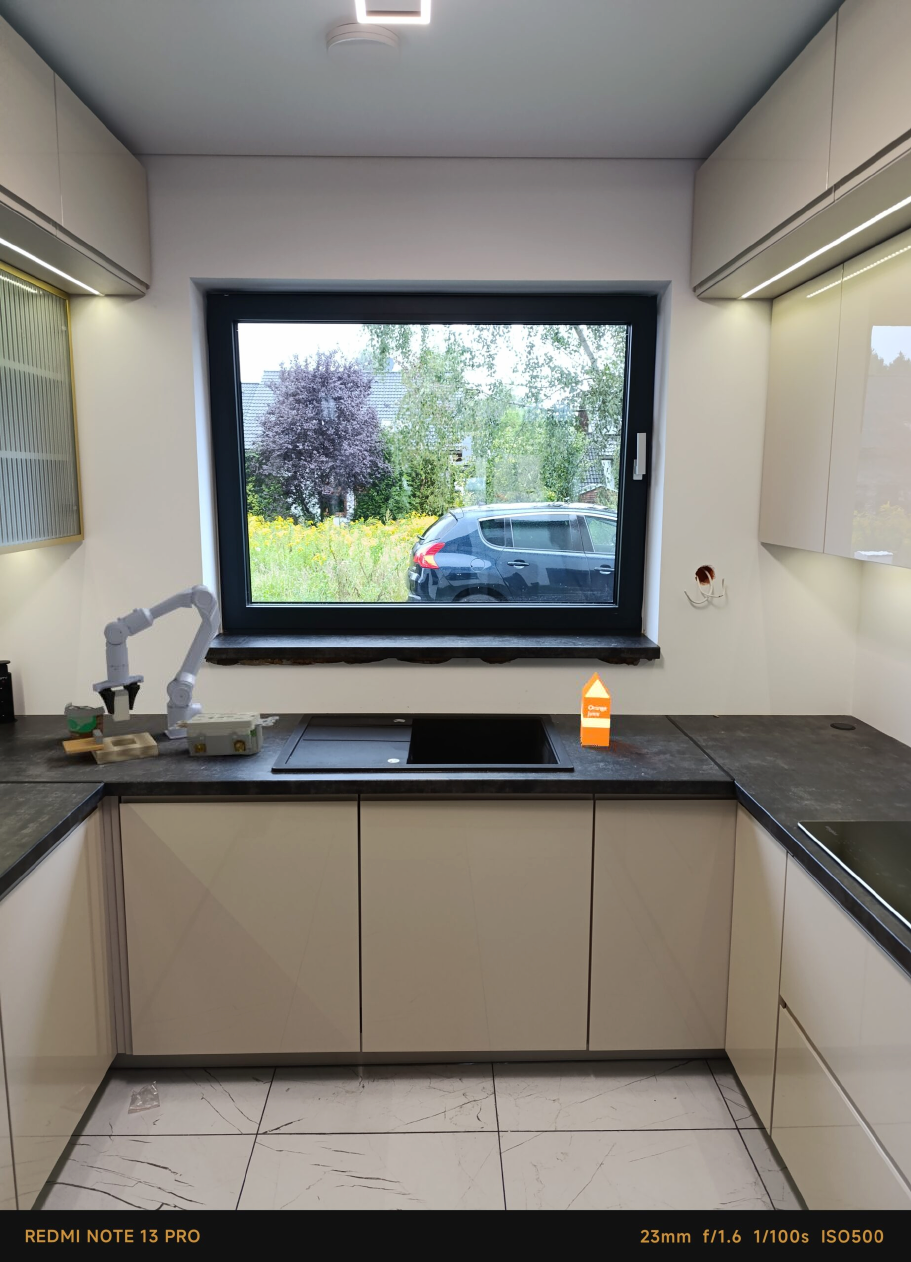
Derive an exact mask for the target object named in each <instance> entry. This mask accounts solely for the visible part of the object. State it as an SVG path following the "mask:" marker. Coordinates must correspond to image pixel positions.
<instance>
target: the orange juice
mask: <svg viewBox="0 0 911 1262" xmlns="http://www.w3.org/2000/svg"><path fill="white" fill-rule="evenodd" d="M611 701H612V698H611V694H610V691H609V690H608V688H607V687H606V686H605V684H604V683H603V681H602V680H601V678H600V676H599V675H598V673H597V672H595V673H594V674H593V676H592V677H590V679H589V680H588V682H587V683H585V686H583V688H582V690H581V706H580V707H581V709H580V710H581V714H580V737H581V738H580V743H581V742H582V744H581V746H582V745H596V746H597V745H598V746H610V744H609V743H610V727H611V704H612V702H611Z"/></svg>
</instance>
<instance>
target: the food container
mask: <svg viewBox="0 0 911 1262" xmlns="http://www.w3.org/2000/svg"><path fill="white" fill-rule="evenodd" d="M105 709H106V708H105V707H104V706H99V707H93V706H89V705H80V706H79V705H78V706H77V705H73V703H72V702H69V703H66V705H65V707H64V711H63V712H64V713H63V715H65V716H66V719H67V722H68V723H67V725H68V730H69V736H70V741H72V740H79V739H87V738H93V730H98V729H99V730H100V732H101V733H102V735H103V736H104V714H106V710H105Z"/></svg>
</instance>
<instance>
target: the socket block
mask: <svg viewBox="0 0 911 1262" xmlns="http://www.w3.org/2000/svg"><path fill="white" fill-rule="evenodd" d="M103 745H104V749H99V750H92V751H90V752H91V753H92V755H93V757H94V758H95V760H96V762H97V765H101V764H108V763H114V762H115V763H116V762H121V761H128V760H129V761H130V760H135V759H141V758H142V759H143V758H147V757H155V756H159V753H158V752H159V751H158V744H157V742H156V741H155V740H154V738H153V737H152V736H151V735H150V733H149V732H148V731H146V732H139V733H132V734H124V735H123V734H122V735H117V736H116V735H115V736H109V737H103Z"/></svg>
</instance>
